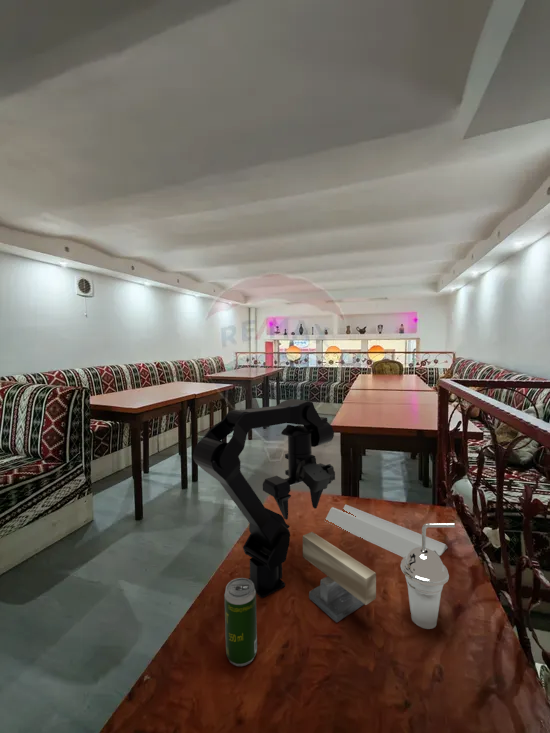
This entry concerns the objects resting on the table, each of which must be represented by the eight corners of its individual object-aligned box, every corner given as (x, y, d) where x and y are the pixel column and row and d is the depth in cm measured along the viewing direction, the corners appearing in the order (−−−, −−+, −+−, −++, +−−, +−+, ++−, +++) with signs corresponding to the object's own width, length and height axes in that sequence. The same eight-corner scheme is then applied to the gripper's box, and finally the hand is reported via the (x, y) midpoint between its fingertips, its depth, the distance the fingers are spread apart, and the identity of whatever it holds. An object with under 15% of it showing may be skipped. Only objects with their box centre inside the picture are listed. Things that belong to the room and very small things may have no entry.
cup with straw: (412, 596, 73) (413, 504, 71) (458, 621, 66) (459, 519, 65) (392, 618, 67) (392, 518, 66) (439, 648, 60) (441, 537, 59)
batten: (366, 605, 63) (365, 578, 63) (302, 557, 78) (302, 535, 78) (375, 598, 65) (375, 572, 65) (312, 552, 80) (312, 531, 79)
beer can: (256, 639, 63) (255, 575, 62) (258, 666, 57) (256, 597, 57) (226, 642, 62) (225, 578, 62) (225, 669, 57) (223, 600, 56)
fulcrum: (336, 622, 66) (336, 595, 66) (309, 598, 73) (308, 573, 72) (364, 604, 71) (364, 578, 70) (336, 582, 77) (336, 559, 77)
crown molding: (447, 551, 90) (447, 537, 89) (426, 572, 81) (427, 557, 81) (347, 510, 113) (347, 499, 112) (323, 523, 105) (323, 511, 104)
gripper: (289, 468, 72) (290, 540, 73) (351, 451, 83) (351, 514, 84) (260, 455, 81) (262, 519, 82) (319, 441, 92) (320, 498, 93)
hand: (300, 513), depth 85 cm, fingers open, 9 cm apart
